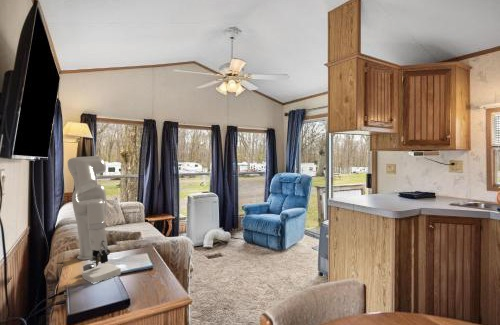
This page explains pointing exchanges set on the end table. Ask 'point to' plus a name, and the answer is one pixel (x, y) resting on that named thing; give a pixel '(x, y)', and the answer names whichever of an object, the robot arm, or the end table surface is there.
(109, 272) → the white slab
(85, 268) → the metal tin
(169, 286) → the end table surface
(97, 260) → the eagle figurine
